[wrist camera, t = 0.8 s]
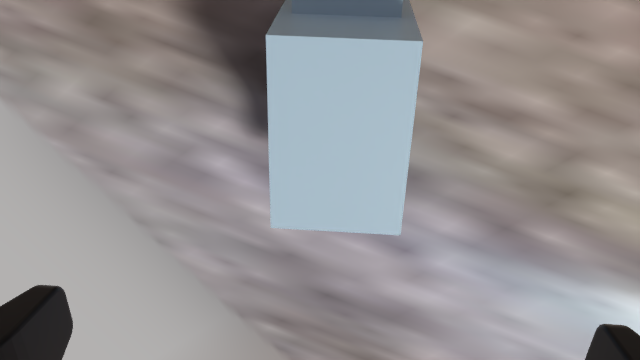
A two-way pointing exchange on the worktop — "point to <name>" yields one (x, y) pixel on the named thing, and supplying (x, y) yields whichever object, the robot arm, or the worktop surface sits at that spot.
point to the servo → (341, 113)
